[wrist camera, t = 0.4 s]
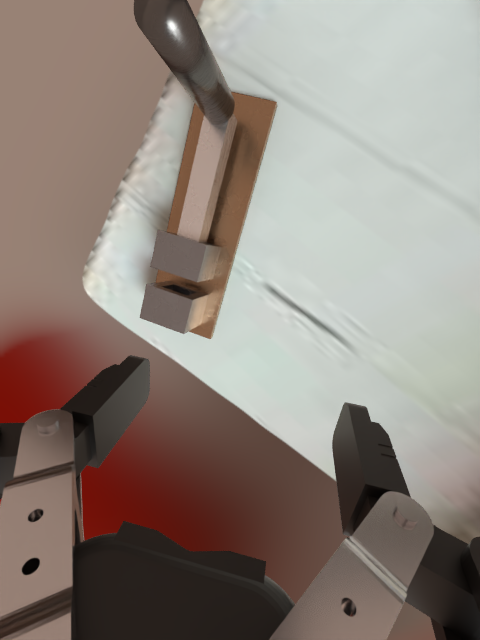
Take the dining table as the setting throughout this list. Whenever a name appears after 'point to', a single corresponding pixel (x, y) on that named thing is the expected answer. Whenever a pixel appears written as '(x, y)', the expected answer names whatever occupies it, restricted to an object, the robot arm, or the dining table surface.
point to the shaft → (206, 91)
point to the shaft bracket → (228, 220)
